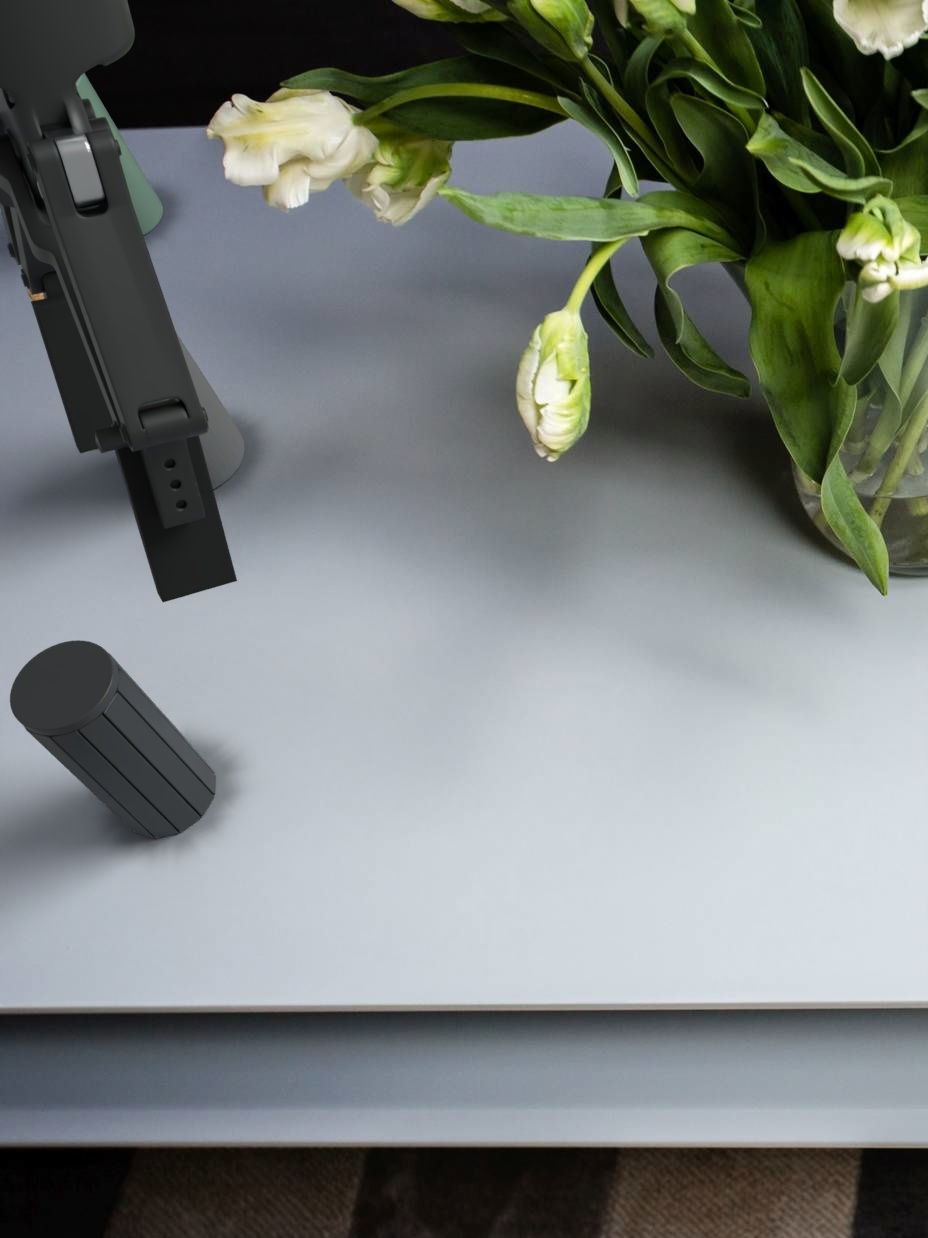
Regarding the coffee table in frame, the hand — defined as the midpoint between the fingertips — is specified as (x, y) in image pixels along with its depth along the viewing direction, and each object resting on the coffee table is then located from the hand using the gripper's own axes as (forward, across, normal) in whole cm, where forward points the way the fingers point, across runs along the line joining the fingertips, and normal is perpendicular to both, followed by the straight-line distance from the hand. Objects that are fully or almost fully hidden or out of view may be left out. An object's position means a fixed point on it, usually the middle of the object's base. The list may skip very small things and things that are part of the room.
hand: (151, 510), depth 65 cm
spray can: (+7, +54, -10) cm, 55 cm away
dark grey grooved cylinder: (+22, +11, +2) cm, 25 cm away
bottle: (+14, +31, -7) cm, 35 cm away
